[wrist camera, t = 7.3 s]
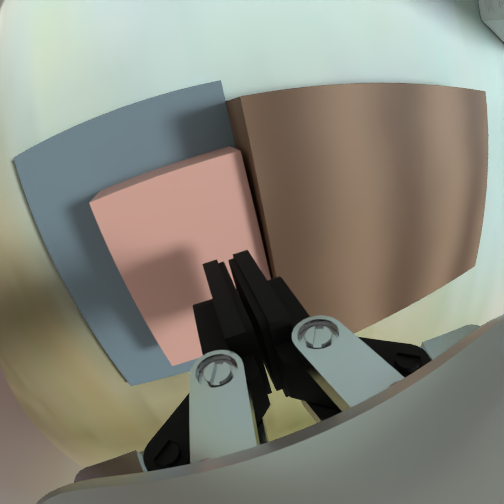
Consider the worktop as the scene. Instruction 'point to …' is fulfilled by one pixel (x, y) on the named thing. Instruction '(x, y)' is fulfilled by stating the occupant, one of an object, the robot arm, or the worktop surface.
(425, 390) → the robot arm
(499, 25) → the small box
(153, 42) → the worktop surface
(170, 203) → the tile
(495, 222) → the worktop surface
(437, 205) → the platform
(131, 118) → the mat
